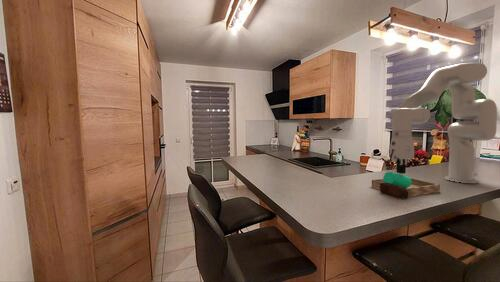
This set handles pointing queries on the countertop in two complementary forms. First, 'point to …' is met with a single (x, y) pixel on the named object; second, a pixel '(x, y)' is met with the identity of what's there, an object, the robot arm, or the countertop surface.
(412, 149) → the robot arm
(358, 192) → the countertop surface
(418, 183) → the tray
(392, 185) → the brick
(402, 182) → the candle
